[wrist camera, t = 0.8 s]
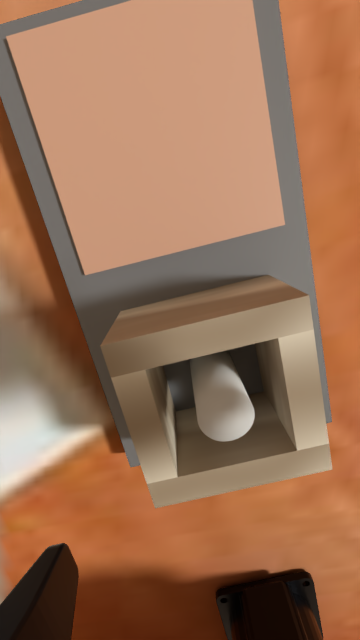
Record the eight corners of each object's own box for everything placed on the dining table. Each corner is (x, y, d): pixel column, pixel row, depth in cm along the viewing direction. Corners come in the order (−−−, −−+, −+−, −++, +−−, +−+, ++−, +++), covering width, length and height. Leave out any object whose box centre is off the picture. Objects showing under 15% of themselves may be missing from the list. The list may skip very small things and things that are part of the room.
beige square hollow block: (290, 406, 17) (332, 469, 12) (159, 436, 17) (155, 508, 13) (268, 274, 15) (309, 295, 10) (120, 311, 15) (100, 345, 11)
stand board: (323, 411, 18) (391, 495, 12) (132, 454, 18) (115, 554, 13) (263, -33, 12) (339, -245, 7) (-8, 45, 13) (-146, -93, 7)
